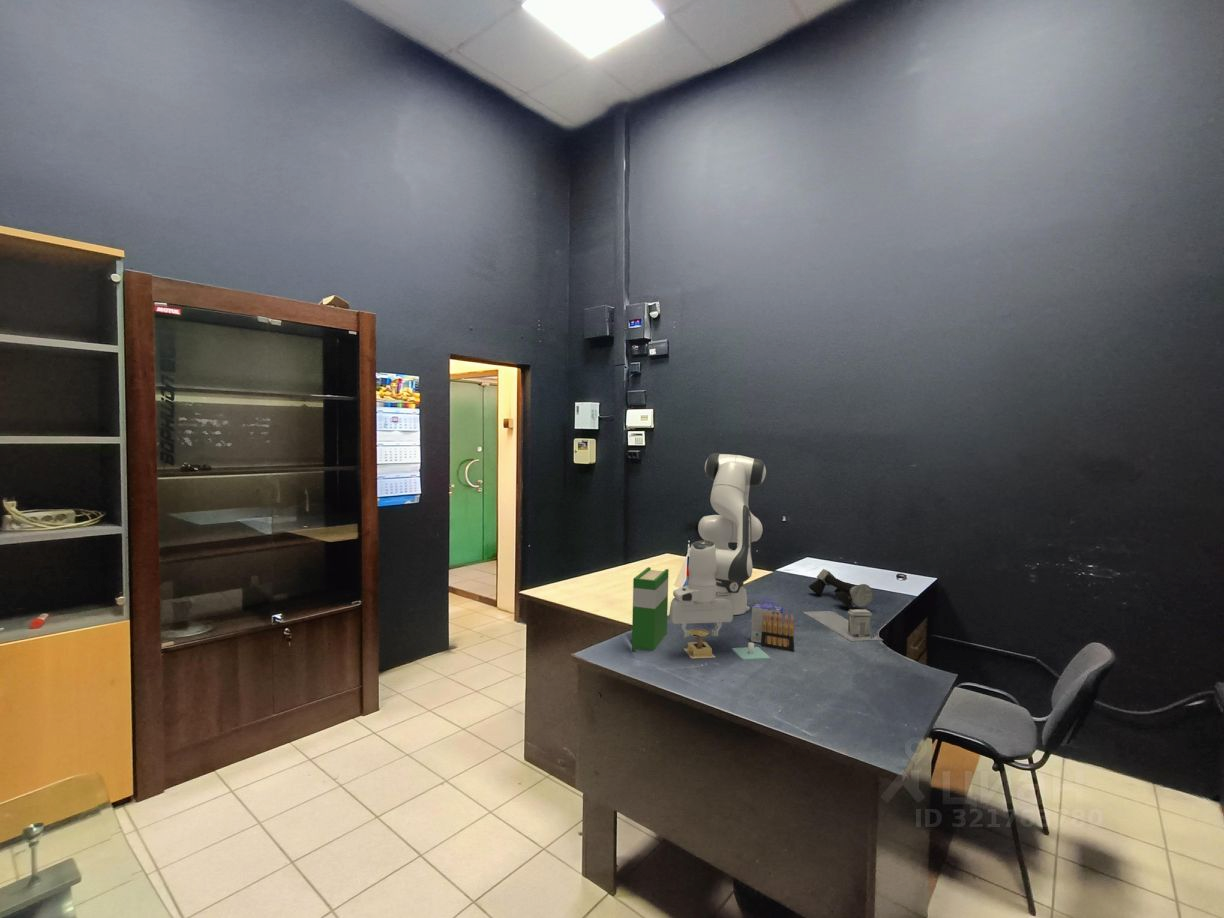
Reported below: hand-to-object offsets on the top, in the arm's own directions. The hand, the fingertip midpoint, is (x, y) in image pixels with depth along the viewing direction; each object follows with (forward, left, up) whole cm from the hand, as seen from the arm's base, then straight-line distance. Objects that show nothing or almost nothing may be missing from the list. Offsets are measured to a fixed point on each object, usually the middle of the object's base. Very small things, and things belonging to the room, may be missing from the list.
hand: (700, 636), depth 176 cm
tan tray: (-1, 0, -6) cm, 6 cm away
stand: (-1, 0, -7) cm, 7 cm away
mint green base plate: (+2, +16, -7) cm, 18 cm away
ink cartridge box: (-12, +28, -7) cm, 31 cm away
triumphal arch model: (-25, +64, -8) cm, 69 cm away
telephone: (-53, +82, -7) cm, 98 cm away
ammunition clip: (-6, +29, -7) cm, 30 cm away
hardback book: (-14, -13, -7) cm, 20 cm away
